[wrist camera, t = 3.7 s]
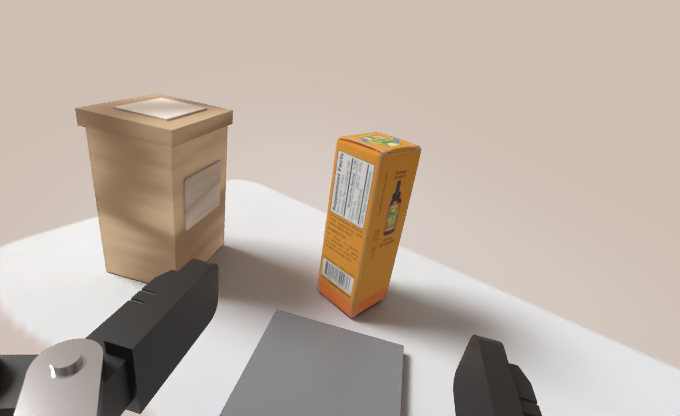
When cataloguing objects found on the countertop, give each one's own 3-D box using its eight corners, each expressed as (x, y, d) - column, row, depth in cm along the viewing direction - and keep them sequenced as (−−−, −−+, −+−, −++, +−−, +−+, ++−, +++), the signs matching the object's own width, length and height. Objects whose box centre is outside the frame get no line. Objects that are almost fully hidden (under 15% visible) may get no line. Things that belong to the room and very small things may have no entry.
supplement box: (347, 271, 24) (379, 128, 20) (386, 300, 22) (430, 147, 18) (310, 288, 22) (337, 131, 18) (349, 322, 20) (389, 154, 16)
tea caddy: (227, 243, 25) (232, 108, 21) (177, 294, 20) (171, 128, 16) (165, 226, 25) (158, 92, 21) (100, 272, 20) (74, 105, 16)
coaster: (401, 352, 19) (403, 345, 18) (393, 505, 12) (396, 497, 12) (275, 316, 19) (276, 309, 19) (208, 444, 13) (208, 435, 13)
